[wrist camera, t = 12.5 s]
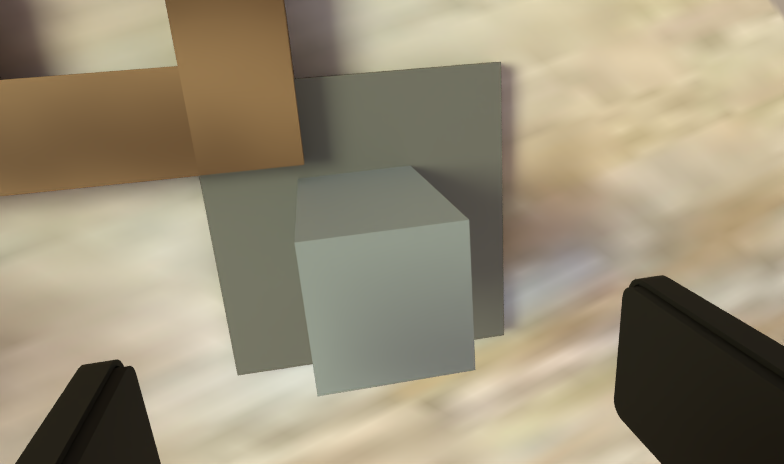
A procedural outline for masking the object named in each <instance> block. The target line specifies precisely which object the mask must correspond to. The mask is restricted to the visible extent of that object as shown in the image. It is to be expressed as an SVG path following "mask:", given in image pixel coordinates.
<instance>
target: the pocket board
mask: <svg viewBox="0 0 784 464" xmlns="http://www.w3.org/2000/svg"><path fill="white" fill-rule="evenodd" d="M165 3H166V8H167V13H168V18H169V23H170V28H171V34H172V39H173V44H174V49H175V54H176V59H177V65H178V66H174V67H161V68H148V69H135V70H122V71H109V72H96V73H84V74H71V75H58V76H45V77H32V78H19V79H6V80H1V78H0V196H8V195H17V194H27V193H37V192H46V191H56V190H66V189H75V188H85V187H95V186H104V185H114V184H124V183H133V182H143V181H152V180H162V179H172V178H181V177H191V176H201V175H210V174H220V173H230V172H239V171H249V170H259V169H268V168H278V167H288V166H297V165H304V153H303V146H302V138H301V130H300V122H299V114H298V107H297V99H296V91H295V83H294V72H293V64H292V57H291V49H290V41H289V33H288V26H287V18H286V10H285V2H284V0H165Z"/></svg>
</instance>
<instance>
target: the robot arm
mask: <svg viewBox="0 0 784 464" xmlns="http://www.w3.org/2000/svg"><path fill="white" fill-rule="evenodd" d="M614 404H615V408H616V411H617V413H618V415H619V417H620V418H621V420H622V421H623V422H624V423H625V424H626V425H627V426H628V427H629V428H630V430H631V431H632V432H633V433H634V434H635V435H636V436H637V437H638V438H639V439H640V441H641V442H642V443H643V444H644V445H645V446H646V447H647V448H648V449H649V450H650V452H651V453H652V454H653V455H654V456H655V457H656V458H657V459H658V460H659V462H660V463H661V464H784V346H783V345H781V344H779V343H778V342H776V341H774V340H773V339H771V338H769V337H768V336H766V335H764V334H763V333H761V332H759V331H757V330H756V329H754V328H752V327H751V326H749V325H747V324H746V323H744V322H742V321H741V320H739V319H737V318H736V317H734V316H732V315H730V314H729V313H727V312H725V311H724V310H722V309H720V308H719V307H717V306H715V305H714V304H712V303H710V302H709V301H707V300H705V299H703V298H702V297H700V296H698V295H697V294H695V293H693V292H692V291H690V290H688V289H687V288H685V287H683V286H682V285H680V284H678V283H676V282H675V281H673V280H671V279H670V278H668V277H666V276H663V275H661V276H654V277H647V278H641V279H635V280H633V281H632V282H631V284H630V286H629V288H626V289H625V290H624V292H623V297H622V309H621V321H620V333H619V345H618V357H617V369H616V381H615V393H614ZM15 464H161V463H160V459H159V455H158V452H157V448H156V444H155V441H154V437H153V433H152V430H151V426H150V423H149V419H148V415H147V412H146V408H145V404H144V401H143V397H142V394H141V390H140V386H139V383H138V379H137V375H136V372H135V370H134V368H133V367H132V366H126V367H124V366H123V364H122V363H121V361H119V360H111V361H105V362H98V363H92V364H85V365H81V367H80V368H79V369H78V370H77V372H76V373H75V375H74V376H73V378H72V379H71V381H70V382H69V384H68V385H67V387H66V388H65V390H64V391H63V393H62V394H61V396H60V397H59V399H58V400H57V402H56V403H55V405H54V406H53V408H52V409H51V411H50V412H49V414H48V415H47V417H46V418H45V420H44V421H43V423H42V424H41V426H40V427H39V429H38V430H37V432H36V433H35V435H34V436H33V438H32V439H31V441H30V442H29V444H28V445H27V447H26V448H25V450H24V451H23V453H22V454H21V456H20V457H19V459H18V460H17V462H16V463H15Z"/></svg>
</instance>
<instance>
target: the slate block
mask: <svg viewBox="0 0 784 464" xmlns="http://www.w3.org/2000/svg"><path fill="white" fill-rule="evenodd" d="M294 243H295V250H296V256H297V263H298V269H299V276H300V283H301V289H302V296H303V302H304V309H305V316H306V322H307V329H308V335H309V342H310V349H311V355H312V362H313V368H314V375H315V382H316V388H317V395H318V396H323V395H329V394H335V393H341V392H347V391H353V390H359V389H365V388H371V387H377V386H383V385H389V384H395V383H401V382H407V381H413V380H419V379H425V378H430V377H436V376H442V375H448V374H454V373H460V372H466V371H472V370H475V349H474V325H473V301H472V277H471V253H470V228H469V219H468V218H467V217H466V216H464V215H463V214H462V213H461V212H460V211H459V210H458V209H457V208H456V207H455V206H454V205H453V204H451V203H450V202H449V201H448V200H447V199H446V198H445V197H444V196H443V195H442V194H441V193H440V192H439V191H437V190H436V189H435V188H434V187H433V186H432V185H431V184H430V183H429V182H428V181H427V180H426V179H424V178H423V177H422V176H421V175H420V174H419V173H418V172H417V171H416V170H415V169H414V168H413V167H412V166H402V167H393V168H385V169H376V170H367V171H359V172H350V173H341V174H333V175H324V176H315V177H307V178H298V187H297V205H296V223H295V242H294Z"/></svg>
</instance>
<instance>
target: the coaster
mask: <svg viewBox="0 0 784 464" xmlns="http://www.w3.org/2000/svg"><path fill="white" fill-rule="evenodd" d="M294 83H295V91H296V99H297V107H298V114H299V122H300V130H301V138H302V146H303V153H304V165H297V166H288V167H278V168H268V169H259V170H249V171H239V172H230V173H220V174H210V175H201V176H199V178H200V183H201V188H202V193H203V198H204V203H205V209H206V214H207V219H208V224H209V229H210V235H211V240H212V245H213V250H214V255H215V260H216V266H217V271H218V276H219V281H220V286H221V292H222V297H223V302H224V307H225V312H226V317H227V323H228V328H229V333H230V338H231V343H232V349H233V354H234V359H235V364H236V369H237V374H238V375H244V374H250V373H257V372H263V371H270V370H277V369H283V368H290V367H296V366H303V365H310V364H313V362H312V355H311V349H310V342H309V335H308V329H307V322H306V316H305V309H304V302H303V296H302V289H301V283H300V276H299V269H298V263H297V256H296V250H295V243H294V242H295V223H296V205H297V187H298V178H307V177H315V176H324V175H333V174H341V173H350V172H359V171H367V170H376V169H385V168H393V167H402V166H412V167H413V168H414V169H415V170H416V171H417V172H418V173H419V174H420V175H421V176H422V177H423V178H424V179H426V180H427V181H428V182H429V183H430V184H431V185H432V186H433V187H434V188H435V189H436V190H437V191H439V192H440V193H441V194H442V195H443V196H444V197H445V198H446V199H447V200H448V201H449V202H450V203H451V204H453V205H454V206H455V207H456V208H457V209H458V210H459V211H460V212H461V213H462V214H463V215H464V216H466V217H467V218H468V219H469V228H470V253H471V277H472V301H473V325H474V340H475V339H481V338H488V337H494V336H501V335H504V302H503V215H502V129H501V62H491V63H479V64H467V65H455V66H443V67H431V68H419V69H407V70H395V71H382V72H370V73H358V74H346V75H334V76H322V77H310V78H298V79H294Z"/></svg>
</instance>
